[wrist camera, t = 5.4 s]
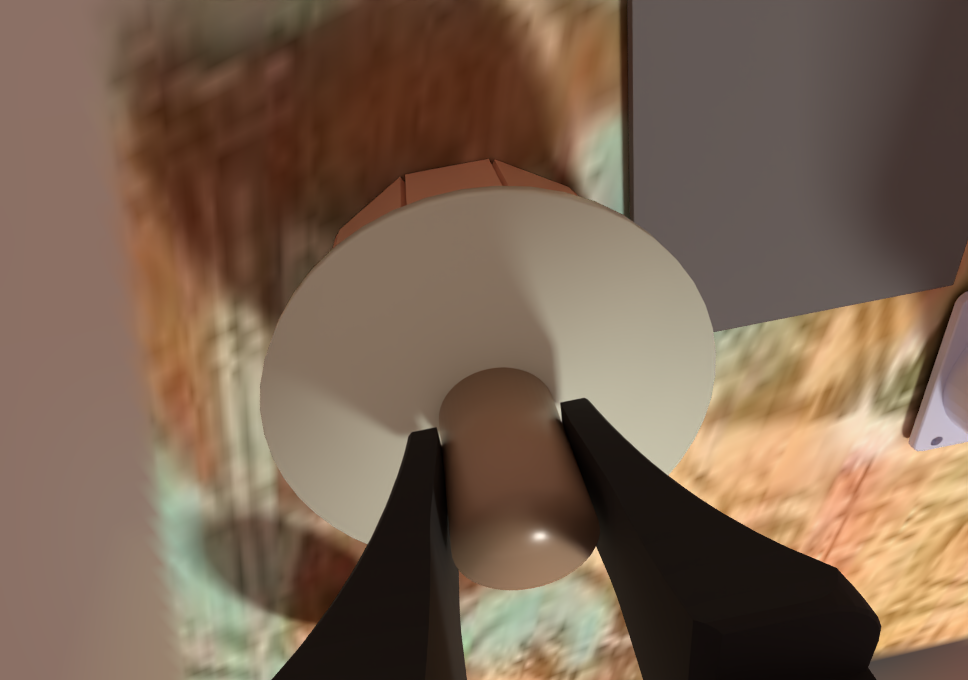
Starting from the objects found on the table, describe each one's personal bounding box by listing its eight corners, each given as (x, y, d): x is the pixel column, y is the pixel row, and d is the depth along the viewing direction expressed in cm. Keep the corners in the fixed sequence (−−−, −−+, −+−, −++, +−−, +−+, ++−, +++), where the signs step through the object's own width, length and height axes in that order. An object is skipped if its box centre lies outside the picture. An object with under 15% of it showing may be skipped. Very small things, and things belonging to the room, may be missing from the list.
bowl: (612, 136, 17) (664, 174, 14) (619, 397, 23) (658, 470, 19) (278, 197, 17) (249, 252, 14) (366, 447, 22) (360, 530, 19)
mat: (1073, -126, 15) (1088, -128, 15) (944, 280, 22) (953, 284, 21) (627, -47, 15) (632, -48, 15) (631, 341, 21) (634, 347, 21)
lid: (725, 144, 13) (872, 218, 9) (691, 507, 19) (768, 644, 15) (186, 236, 12) (87, 357, 8) (335, 576, 18) (319, 737, 14)
